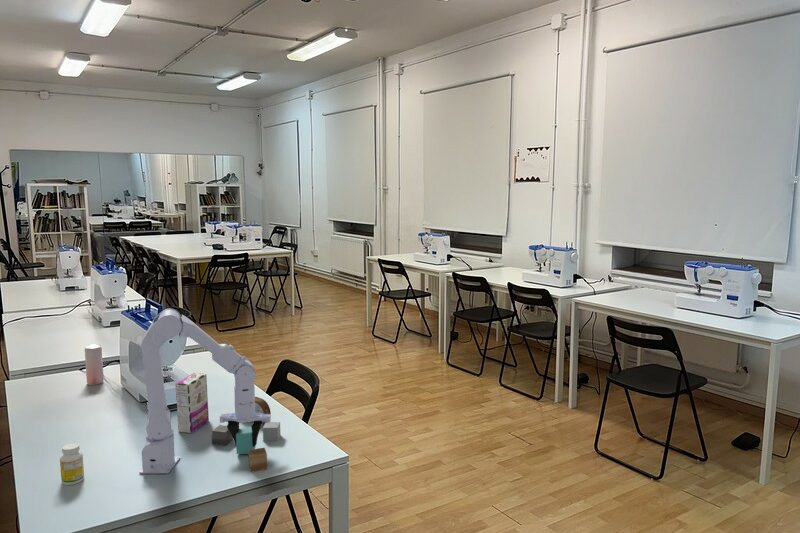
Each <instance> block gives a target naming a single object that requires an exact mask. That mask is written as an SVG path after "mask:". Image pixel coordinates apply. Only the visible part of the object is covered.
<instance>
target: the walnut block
mask: <svg viewBox="0 0 800 533" xmlns="http://www.w3.org/2000/svg"><path fill="white" fill-rule="evenodd" d="M248 467H249V471H250V472H251V473H252V472H258V471H265V470H268V454H267V451H266V448H265V447H259V448H255V449H251V450H249V454H248Z"/></svg>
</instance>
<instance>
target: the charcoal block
mask: <svg viewBox="0 0 800 533" xmlns="http://www.w3.org/2000/svg"><path fill="white" fill-rule="evenodd" d="M231 442H234V439H233V437H232V435H231V433H230V431H229V430H228V428H227V425H224V424H219V425H218V426H216V427H214V428H213V429H212V430H211V444H213V446H221V447H226V446H227V445H229V444H230V443H231Z"/></svg>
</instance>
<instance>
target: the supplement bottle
mask: <svg viewBox="0 0 800 533" xmlns="http://www.w3.org/2000/svg"><path fill="white" fill-rule="evenodd" d="M80 449H81V448H80V444H79V443H76V442H74V443H68V444H65V445H63V446H62V447H61V453H62V454H61V455H60V457H59V464H60V465H59V466H60V478H61V483H62V484H63V485H66V486H71V485H72V486H73V485H77V484H78V483H81V482H82V481H83V480H84V479H85V470H84V467H85V466H84V456H83V455H84V454H83V452H82V451H80Z"/></svg>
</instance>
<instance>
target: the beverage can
mask: <svg viewBox="0 0 800 533" xmlns="http://www.w3.org/2000/svg"><path fill="white" fill-rule="evenodd" d="M102 349H103V348H102V345H100V344H90V345H89V344H88V345H86V346H85V347H84V361H85V373H86V375H85V376H86V383H87V385H89V386H98V385H101V384H103V382H104V381H105V380H104V363H103V350H102Z"/></svg>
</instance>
